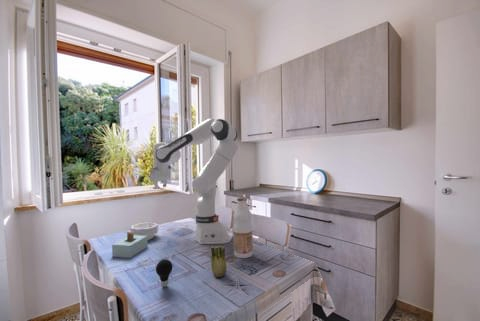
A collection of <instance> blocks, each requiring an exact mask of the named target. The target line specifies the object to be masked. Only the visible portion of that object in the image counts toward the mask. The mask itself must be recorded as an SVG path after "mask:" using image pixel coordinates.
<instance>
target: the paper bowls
mask: <svg viewBox="0 0 480 321" xmlns="http://www.w3.org/2000/svg"><path fill="white" fill-rule="evenodd" d="M158 225H159V224H157V223H156V222H141V223H136V224H133V225H131V226H130V232H131V231H133V232H134V235H140V236H147V241H149V240H152V239H153V238H154V237H155V235H157V234H158V230H159V229H158V227H159V226H158Z"/></svg>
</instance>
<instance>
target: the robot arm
mask: <svg viewBox="0 0 480 321" xmlns="http://www.w3.org/2000/svg"><path fill="white" fill-rule="evenodd" d="M213 137H215V139H216V140H217V141H219V144H218V146H217V148H215V151H214V152H213V154H212V155H211V157H210V158H209V160H208V161H207V162H206V164H205V165H204V166H203V167H202V168H201V169H200V170H199V172H198V174H196V176H195V177H194V178H193V180H192V182H191V186H192V189H193V191H194V192H196V193H197V197H196V198H197V199H196V202H195V203H196V205H195V206H196V215H195V225H196V227H195V235H194V238H193V239H194V241H195V242H197V243H198V244H199V245H215V244H216V245H218V244H219V245H221V244H228V243H229V242H231V240H232V239H233V234H232V233H230V232H229V228H228V227H227V225H226V224H223V223H222V222H221V221H220V220H219V217H220V214H218V215H217V214H216V195H217V181H218V180H219V178H220V177H221V176H222V175H223V174H224V172H225V170H227V167H228V166H229V164H230V163H231V162H232V160H233V159H234V157H235V155H236V153H237V151H238V148H239V145H238V143H237V141H236V140H237V139H238V130H237V129H236V128H235V127H233V125H232V124H231V123H230V122H227V121H226V120H225V119H222V118H217V119H215V118H208V119H206V120H204V121H202V122H200V123H198V124H197V125H196V126H195V127H193V128H191V130H189V131H187V132H185V133H184V134H183V135H181V136H179V137H178V138H176V139H174V140H173V141H171V142H170V143H168V144H167V143H166V142H165V141H164V142H163V141H162V142H160V141H159V142H156V143H155V144H153V147H152V148H153V149H152V158H153V161H152V162H153V163H152V165H153V166H152V168H151V169H150V172H149V183H153V186H154V189H155V190H158V189H159V187H160V186H159V182H163V184H162V187H163V188H166V187H167V183H168V180H169V181H170V180H171V177H172V171H171V169H172V166H171V165H170V164H168V163H172V162H173V163H175V162H177V161H179V160H180V159H181V156H182V154H181V153H182V152H181V151H180V150H182V149H184V148H185V147H188V146H199V145H202V144H204V143H206V142H207V141H208V140H210V139H211V138H213Z"/></svg>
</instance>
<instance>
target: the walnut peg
mask: <svg viewBox="0 0 480 321" xmlns="http://www.w3.org/2000/svg"><path fill="white" fill-rule="evenodd" d="M126 237H127V242H132V241H134V232H133V231H131V230H130V231H128V232H127V233H126Z"/></svg>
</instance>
